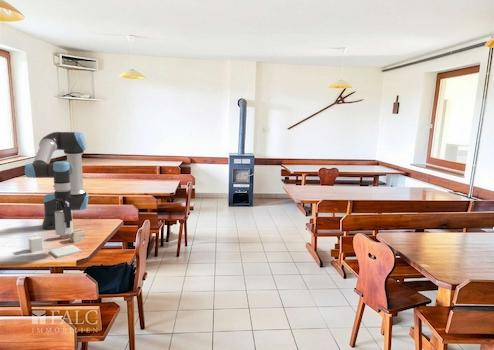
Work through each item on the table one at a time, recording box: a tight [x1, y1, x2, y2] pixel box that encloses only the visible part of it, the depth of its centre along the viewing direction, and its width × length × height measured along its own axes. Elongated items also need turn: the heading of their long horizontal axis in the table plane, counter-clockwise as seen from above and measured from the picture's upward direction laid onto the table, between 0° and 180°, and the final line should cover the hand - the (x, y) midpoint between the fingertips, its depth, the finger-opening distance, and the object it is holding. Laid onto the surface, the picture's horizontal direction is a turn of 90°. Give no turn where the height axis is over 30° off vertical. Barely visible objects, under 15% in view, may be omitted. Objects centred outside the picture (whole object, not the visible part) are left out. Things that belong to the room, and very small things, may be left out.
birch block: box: [69, 228, 86, 244], centre depth 193 cm, size 6×6×6 cm
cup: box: [55, 210, 74, 236], centre depth 172 cm, size 8×8×12 cm
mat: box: [48, 244, 83, 259], centre depth 175 cm, size 12×12×1 cm
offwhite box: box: [28, 235, 44, 253], centre depth 176 cm, size 5×5×7 cm
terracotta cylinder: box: [59, 234, 70, 240], centre depth 196 cm, size 6×6×8 cm
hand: (64, 231), depth 173 cm, fingers closed on cup, 8 cm apart
